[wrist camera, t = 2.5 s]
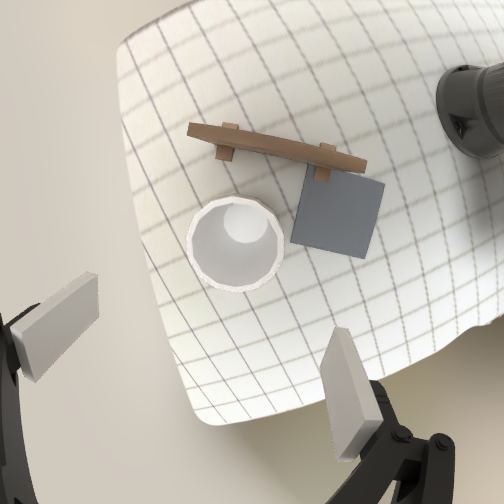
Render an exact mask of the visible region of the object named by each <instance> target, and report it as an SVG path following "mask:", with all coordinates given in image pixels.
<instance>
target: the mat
mask: <svg viewBox="0 0 504 504" xmlns="http://www.w3.org/2000/svg"><path fill="white" fill-rule="evenodd" d="M315 169H316V165H313V164H309V163H308V167H307V172H306V176H305V181H304V185H303V190H302V194H301V198H300V203H299V207H298V211H297V216H296V220H295V224H294V228H293V232H292V236H291V241H290V242H291V243H295V244H300V245H304V246H309V247H313V248H317V249H322V250H326V251H331V252H335V253H340V254H344V255H348V256H353V257H357V258H361V259H365V257H366V253H367V250H368V247H369V243H370V240H371V237H372V233H373V230H374V226H375V222H376V219H377V215H378V211H379V207H380V203H381V199H382V195H383V191H384V187H385V184H384V183H380V182H377V181H374V180H371V179H367V178H364V177H360V176H357V175H354V174H350V173H346V172H343V171H339V170H333V169H331V173H330V178H329V182H328V183H326V182H322V181H318V180H314V179H313V178H314V173H315Z"/></svg>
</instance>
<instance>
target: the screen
mask: <svg viewBox="0 0 504 504" xmlns="http://www.w3.org/2000/svg"><path fill="white" fill-rule="evenodd" d="M238 127H239V125H237V124H231V123H225V122H223V124H222V127H219V126H212V125H205V124H198V123H191V122H189V126H188V131H187V136H191V137H194V138H197V139H200V140H203V141H206V142H209V143H212V144H215V145H218V148H217V153H216V158H215V159H219V160H225V161H231V160H232V155H233V151H234V148H238V149H243V150H249V151H254V152H259V153H264V154H269V155H273V156H278V157H283V158H287V159H291V160H296V161H300V162H304V163H309V164H313V165H316V169H315V173H314V178H313V179H314V180H318V181H322V182H326V183H328V182H329V178H330V173H331V169H333V170H339V171H348V172H356V173H364V174H365V169H366V165H367V160H364V159H360V158H357V157H354V156H350V155H347V154H343V153H340V152H336V146H333V145H329V144H325V143H320V147H317V146H313V145H309V144H305V143H301V142H297V141H292V140H288V139H283V138H279V137H274V136H269V135H264V134H259V133H254V132H249V131H243V130H238Z"/></svg>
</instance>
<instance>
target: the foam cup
mask: <svg viewBox="0 0 504 504" xmlns="http://www.w3.org/2000/svg"><path fill="white" fill-rule="evenodd" d="M186 244H187V255H188V259H189V261H190V262H191V264H192V266H193V268H194V269H195V271H196V273H197V274H198V276H199V277H201V278H202V279H203V280H205V281H206V282H207V283H209V284H210V285H212V286H213V287H214V288H216V289H221V290H225V291H230V292H234V293H238V292H243V291H248V290H253V289H257V288H259V287H260V286H261V285H263V284H264V283H265V282H267V281H268V280H269V279H271V278H272V277H273V276H274V275H275V273H276V271H277V269H278V267H279V265H280V263H281V261H282V259H283V258H284V233H283V229H282V227H281V225H280V223H279V221H278V219H277V217H276V215H275V213H274V211H273V210H272V209H270V208H269V207H268V206H266V205H265V204H264V203H263V202H261V201H260V200H259V199H257V198H255V197H250V196H245V195H240V194H232V195H228V196H224V197H220V198H216V199H214V200H212V201H211V202H209V203H208V204H207V205H206V206H205V207H204V208H203V209H201V210H200V211H199V212H198V213H197V214H196V215H195V216H194V217H193V219H192V222H191V225H190V227H189V230H188V232H187V235H186Z"/></svg>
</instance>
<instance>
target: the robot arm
mask: <svg viewBox="0 0 504 504" xmlns="http://www.w3.org/2000/svg"><path fill="white" fill-rule="evenodd" d="M437 108H438V113H439V117H440V120H441V122H442V125H443V127H444V129H445V131H446V133H447V135H448V136H449V138H450V139H451V141H452V142H453V143H454V144H455V145H456V146H457V147H458V148H459V149H460V150H461V151H462V152H464V153H465V154H467V155H469V156H471V157H475V158H492V157H495V156H497V155H499V154H500V153H503V152H504V62H502V63H499V64H497V65H494V66H491V67H488V68H486V67H479V66H472V65H461V66H457V67H455V68H452V69H450V70H448V71H447V72H446V73H445V74H444V75H443V76H442V78H441V79H440V81H439V84H438V88H437ZM98 317H99V304H98V275H97V274H93V273H90V272H86V273H84V274H83V275H81V276H80V277H78V278H77V279H75V280H74V281H72V282H71V283H70V284H68V285H67V286H65V287H64V288H62V289H61V290H60V291H58V292H57V293H55V294H54V295H52V296H51V297H49V298H48V299H47V300H45V301H44V302H43V303H38V304H35V305H32V306H30V307H29V308H27V309H26V310H25V311H24V312H22V313H20V314H19V315H18V316H16V317H15V318H14V319H12V320H11V321H10V322H9V323H7V324H6V325H3V321H2V317H1V313H0V504H38V502H37V499H36V496H35V493H34V489H33V485H32V481H31V477H30V473H29V467H28V462H27V457H26V452H25V445H24V439H23V431H22V424H21V415H20V402H19V384H18V374H17V370H18V369H19V368H20V367H21V369H22V372H23V375H24V377H26V378H27V379H29V380H31V381H33V382H34V383H36V382H37V381H38V380H39V379H40V378H41V376H42V375H43V374H44V373H45V372H46V371H47V370H48V369H49V368H50V367H51V366H52V364H54V362H55V361H56V360H57V359H58V358H59V357H60V356H61V355H62V354H63V353H64V352H65V351H66V350H67V349H68V348H69V347H70V346H71V345H72V344H73V342H75V341H76V339H78V337H80V335H81V334H82V333H83V332H84V331H85V330H86V329H87V328H88V327H89V326H90V325H91V324H92V323H93V322H94V321H95V320H96V319H97V318H98ZM320 372H321V377H322V383H323V388H324V393H325V398H326V403H327V409H328V414H329V420H330V425H331V431H332V437H333V443H334V449H335V456H336V461H339V462H344V461H347V462H348V461H354V460H355V458H356V457H357V456H358V455H359V454H360V458H361V462H360V463H359V464H358V466H357V467H356V468H355V469H354V470H353V471H352V473H351V474H350V476H349V477H348V478H347V479H346V481H345V482H344V483H343V484H342V485H341V486H340V488H339V489H338V490H337V491H336V492H335V494H334V495H333V496H332V497H331V498H330V499H329V500H328V501H327V502H326V503H325V504H378V502H379V501H380V499H381V498H382V496H383V494H384V493H385V491H386V490H387V488H388V486H389V485H390V483H391V482H392V480H396V481H397V482H396V486H395V490H394V494H393V497H392V501H391V504H452V500H453V489H454V472H455V445H454V442H453V440H452V439H451V438H450V437H449V436H447V435H445V434H442V433H437V434H434V435H433V436H431V438H430V439H429V440H424V439H419V438H414V437H413V434H412V433H411V431H410V430H409V429H408V428H406V427H405V426H402V425H400V424H399V423H398V420H397V418H396V415H395V413H394V410H393V408H392V405H391V404H390V400H389V398H388V397H387V393H386V391H385V389H384V387H383V386H382V385H381V384H380V383H379V382H378V381H375V380H369V379H368V377H367V374H366V372H365V369H364V367H363V364H362V361H361V359H360V356H359V354H358V351H357V349H356V346H355V344H354V342H353V339H352V337H351V334H350V332H349V329H346V328H340V327H335V328H334V331H333V333H332V336H331V339H330V341H329V344H328V347H327V349H326V352H325V354H324V357H323V360H322V362H321V365H320Z"/></svg>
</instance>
